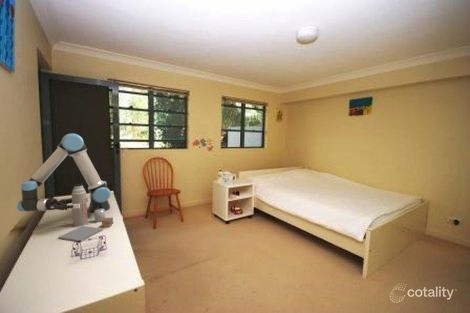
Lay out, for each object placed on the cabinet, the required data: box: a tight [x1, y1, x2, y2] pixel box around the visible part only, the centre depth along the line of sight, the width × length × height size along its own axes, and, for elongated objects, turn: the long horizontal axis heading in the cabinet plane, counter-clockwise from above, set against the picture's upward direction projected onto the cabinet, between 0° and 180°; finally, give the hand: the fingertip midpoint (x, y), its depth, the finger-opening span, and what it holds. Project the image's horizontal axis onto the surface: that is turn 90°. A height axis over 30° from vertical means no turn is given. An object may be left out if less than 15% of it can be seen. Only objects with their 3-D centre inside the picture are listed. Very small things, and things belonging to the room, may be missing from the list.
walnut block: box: [101, 217, 114, 229], centre depth 146 cm, size 5×5×5 cm
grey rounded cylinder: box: [94, 209, 106, 223], centre depth 154 cm, size 6×6×8 cm
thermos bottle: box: [71, 183, 89, 227], centre depth 147 cm, size 8×8×28 cm
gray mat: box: [58, 225, 104, 242], centre depth 134 cm, size 16×16×1 cm
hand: (84, 202), depth 148 cm, fingers open, 13 cm apart
